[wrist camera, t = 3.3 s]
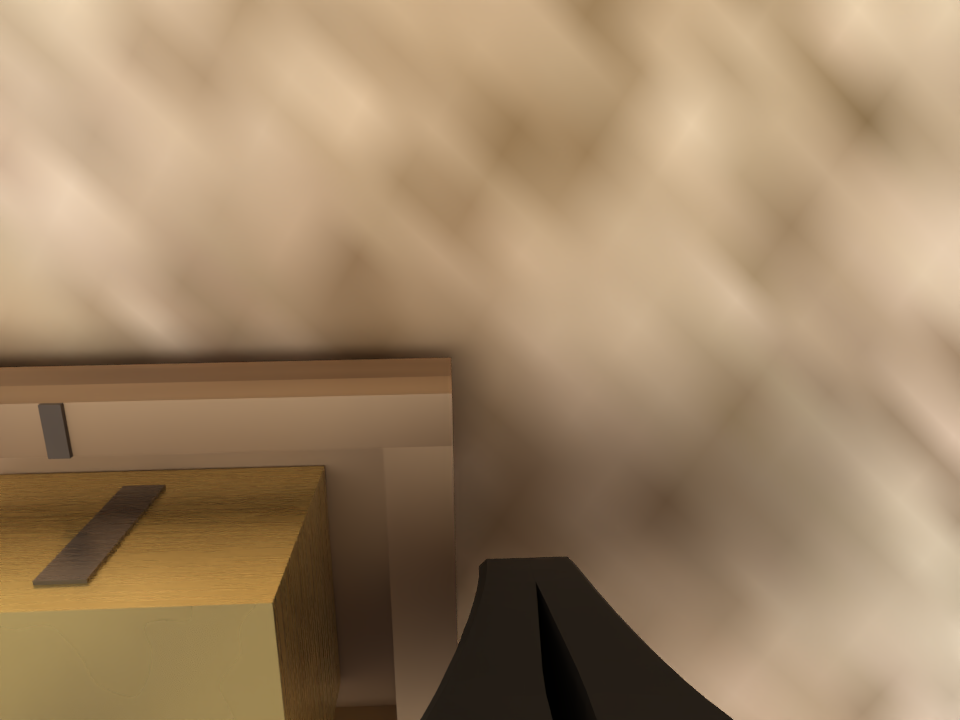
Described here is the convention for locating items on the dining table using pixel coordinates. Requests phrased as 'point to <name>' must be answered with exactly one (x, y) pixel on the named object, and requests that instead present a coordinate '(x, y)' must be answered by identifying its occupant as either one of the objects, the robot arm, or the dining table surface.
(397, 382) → the brown rectangular tray
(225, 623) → the yellow block
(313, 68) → the dining table surface
